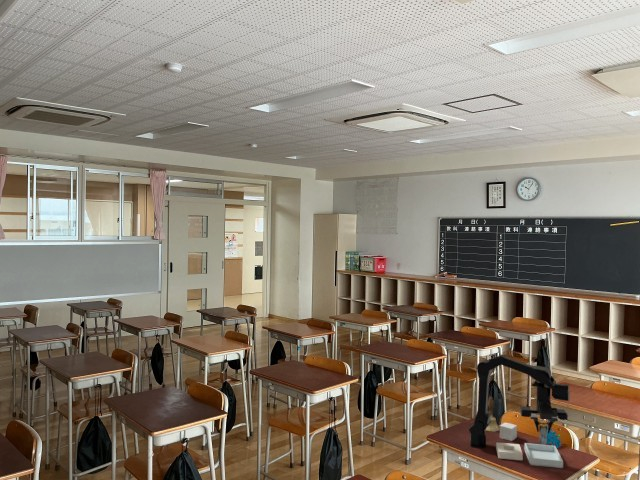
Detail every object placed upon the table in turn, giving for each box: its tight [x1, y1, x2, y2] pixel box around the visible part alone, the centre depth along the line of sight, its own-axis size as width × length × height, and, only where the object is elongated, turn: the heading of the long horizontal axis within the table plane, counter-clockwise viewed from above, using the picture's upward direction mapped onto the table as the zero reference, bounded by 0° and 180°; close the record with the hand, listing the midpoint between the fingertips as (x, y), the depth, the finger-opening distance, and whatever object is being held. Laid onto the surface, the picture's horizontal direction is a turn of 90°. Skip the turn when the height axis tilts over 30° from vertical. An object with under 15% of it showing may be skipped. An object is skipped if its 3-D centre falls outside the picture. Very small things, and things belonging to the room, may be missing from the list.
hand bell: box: [485, 396, 500, 433], centre depth 264 cm, size 8×8×16 cm
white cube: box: [499, 422, 518, 442], centre depth 252 cm, size 6×6×6 cm
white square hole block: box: [495, 441, 524, 461], centre depth 233 cm, size 10×10×3 cm
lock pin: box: [538, 419, 549, 445], centre depth 229 cm, size 4×4×9 cm
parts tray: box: [523, 442, 564, 469], centre depth 229 cm, size 13×16×3 cm
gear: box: [547, 428, 562, 449], centre depth 245 cm, size 11×6×10 cm
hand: (543, 432), depth 229 cm, fingers closed on lock pin, 4 cm apart
